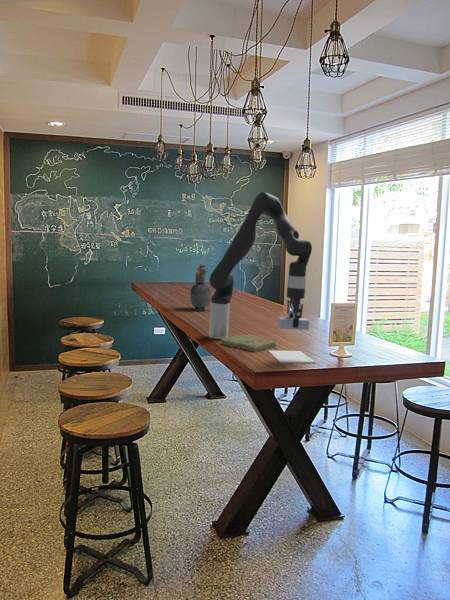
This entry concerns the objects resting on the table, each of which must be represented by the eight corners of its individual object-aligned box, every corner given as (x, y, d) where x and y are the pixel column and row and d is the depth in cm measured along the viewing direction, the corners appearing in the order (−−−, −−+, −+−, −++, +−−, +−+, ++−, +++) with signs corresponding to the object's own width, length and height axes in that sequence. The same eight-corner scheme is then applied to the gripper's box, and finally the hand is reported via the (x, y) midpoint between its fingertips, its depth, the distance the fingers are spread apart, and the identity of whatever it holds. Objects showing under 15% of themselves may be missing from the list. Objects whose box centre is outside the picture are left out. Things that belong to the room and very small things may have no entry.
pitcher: (195, 311, 334) (197, 264, 330) (186, 307, 352) (189, 262, 348) (211, 311, 338) (214, 264, 334) (202, 307, 355) (204, 262, 351)
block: (305, 327, 228) (306, 318, 227) (308, 329, 222) (309, 320, 222) (278, 326, 227) (278, 317, 226) (280, 328, 221) (281, 319, 221)
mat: (268, 351, 234) (268, 350, 234) (300, 352, 237) (300, 351, 237) (280, 362, 216) (280, 361, 216) (315, 363, 218) (315, 361, 218)
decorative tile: (255, 353, 232) (255, 345, 231) (220, 345, 244) (220, 337, 244) (278, 347, 246) (279, 340, 246) (244, 340, 259) (245, 333, 258)
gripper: (310, 289, 216) (307, 329, 218) (299, 285, 230) (296, 323, 232) (292, 288, 215) (289, 329, 217) (282, 284, 229) (280, 322, 231)
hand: (293, 325), depth 225 cm, fingers closed on block, 5 cm apart
